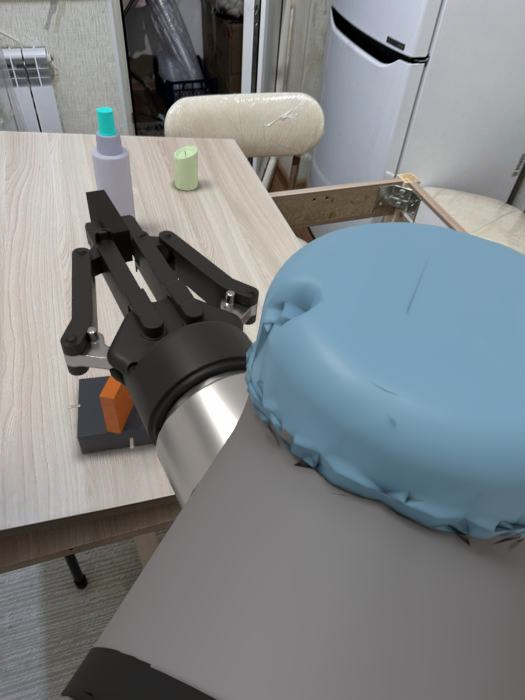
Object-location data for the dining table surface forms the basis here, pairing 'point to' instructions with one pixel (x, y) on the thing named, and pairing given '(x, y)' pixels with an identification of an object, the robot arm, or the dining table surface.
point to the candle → (186, 168)
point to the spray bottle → (112, 164)
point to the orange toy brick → (115, 405)
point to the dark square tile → (93, 422)
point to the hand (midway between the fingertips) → (97, 206)
